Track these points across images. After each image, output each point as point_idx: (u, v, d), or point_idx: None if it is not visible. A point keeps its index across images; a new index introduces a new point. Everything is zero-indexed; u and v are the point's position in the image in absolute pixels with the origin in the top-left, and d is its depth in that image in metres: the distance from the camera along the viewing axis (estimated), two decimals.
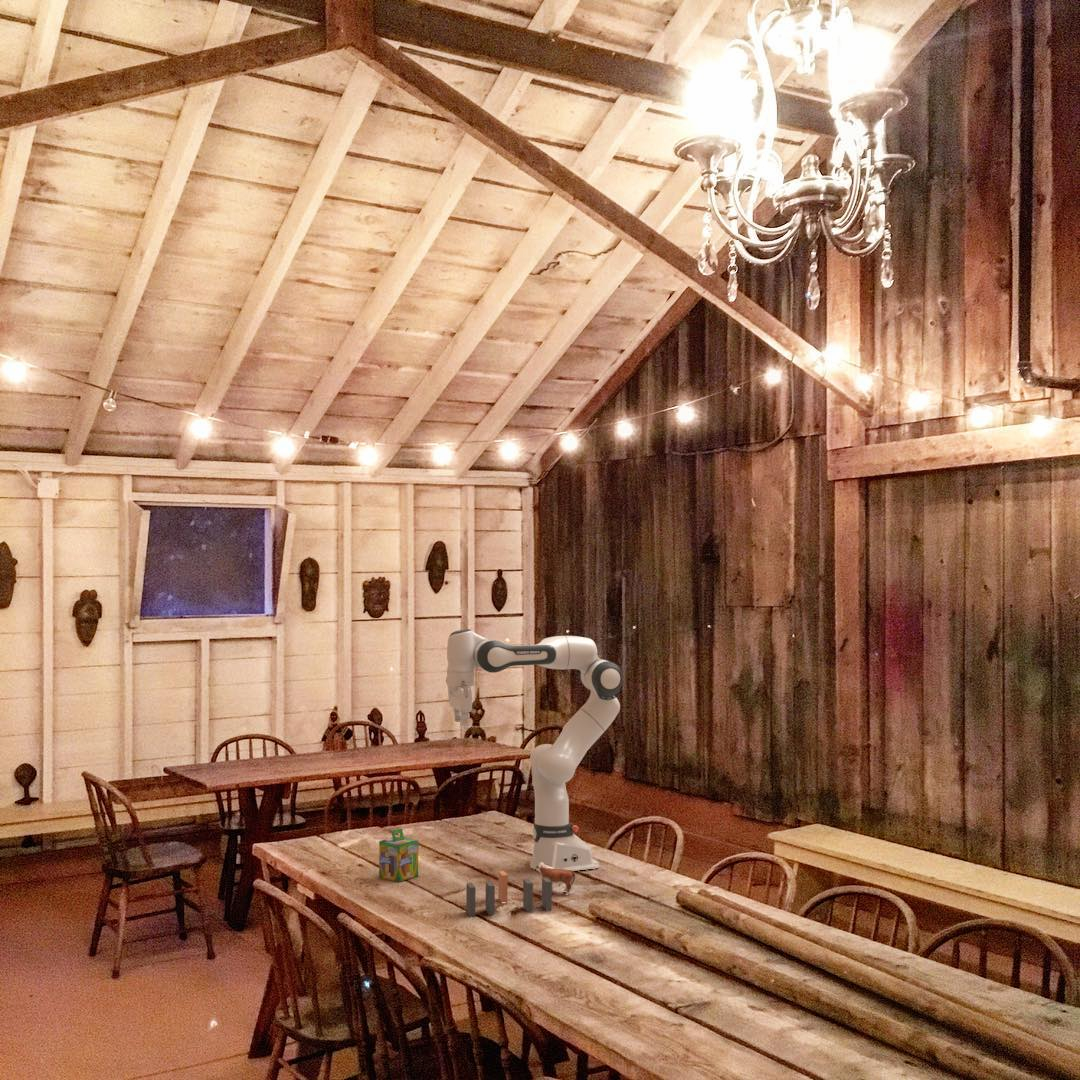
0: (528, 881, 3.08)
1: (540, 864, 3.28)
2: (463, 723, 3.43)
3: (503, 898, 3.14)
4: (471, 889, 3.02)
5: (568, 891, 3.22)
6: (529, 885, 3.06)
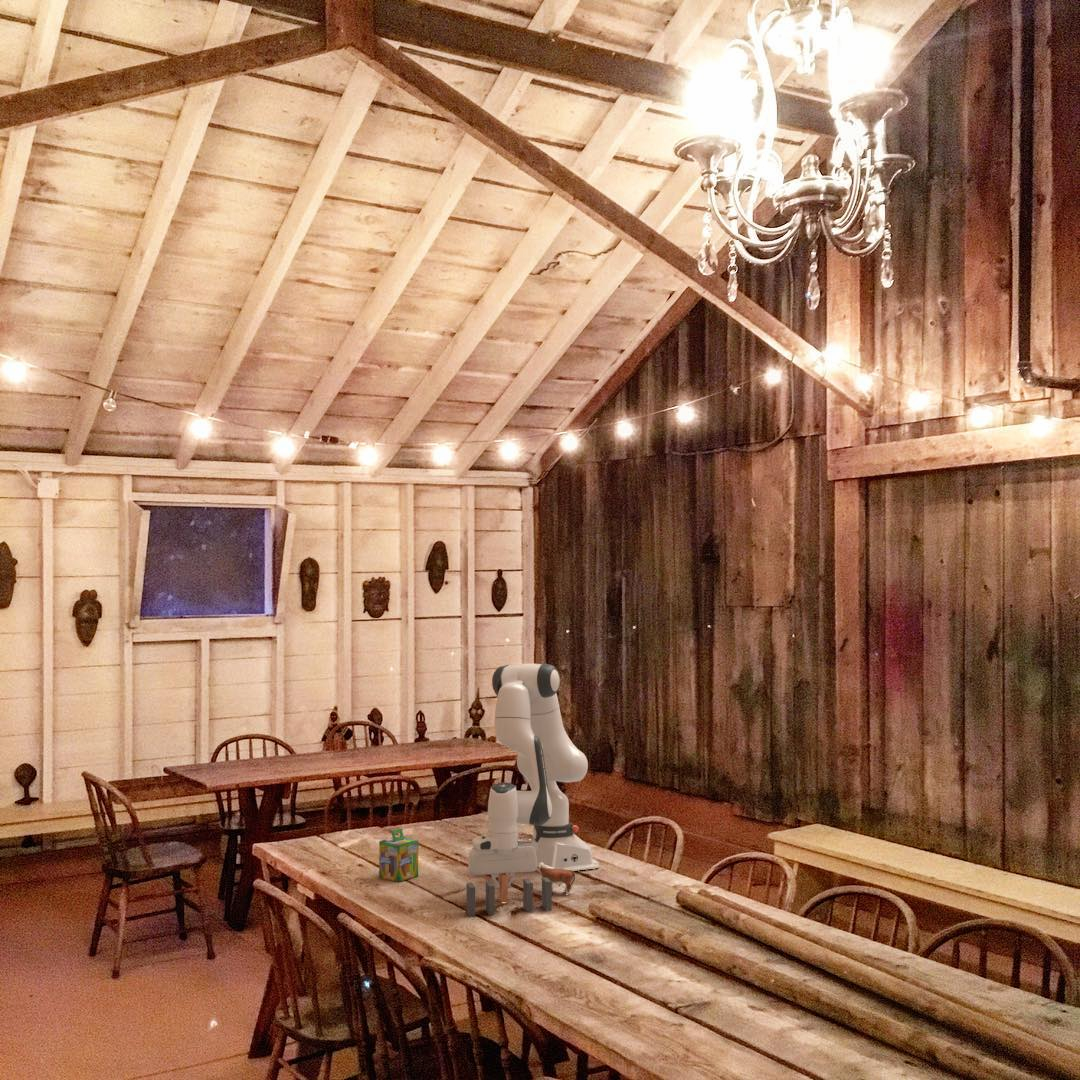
0: (528, 881, 3.08)
1: (540, 864, 3.28)
2: None
3: (503, 898, 3.14)
4: (471, 889, 3.02)
5: (568, 891, 3.22)
6: (529, 885, 3.06)
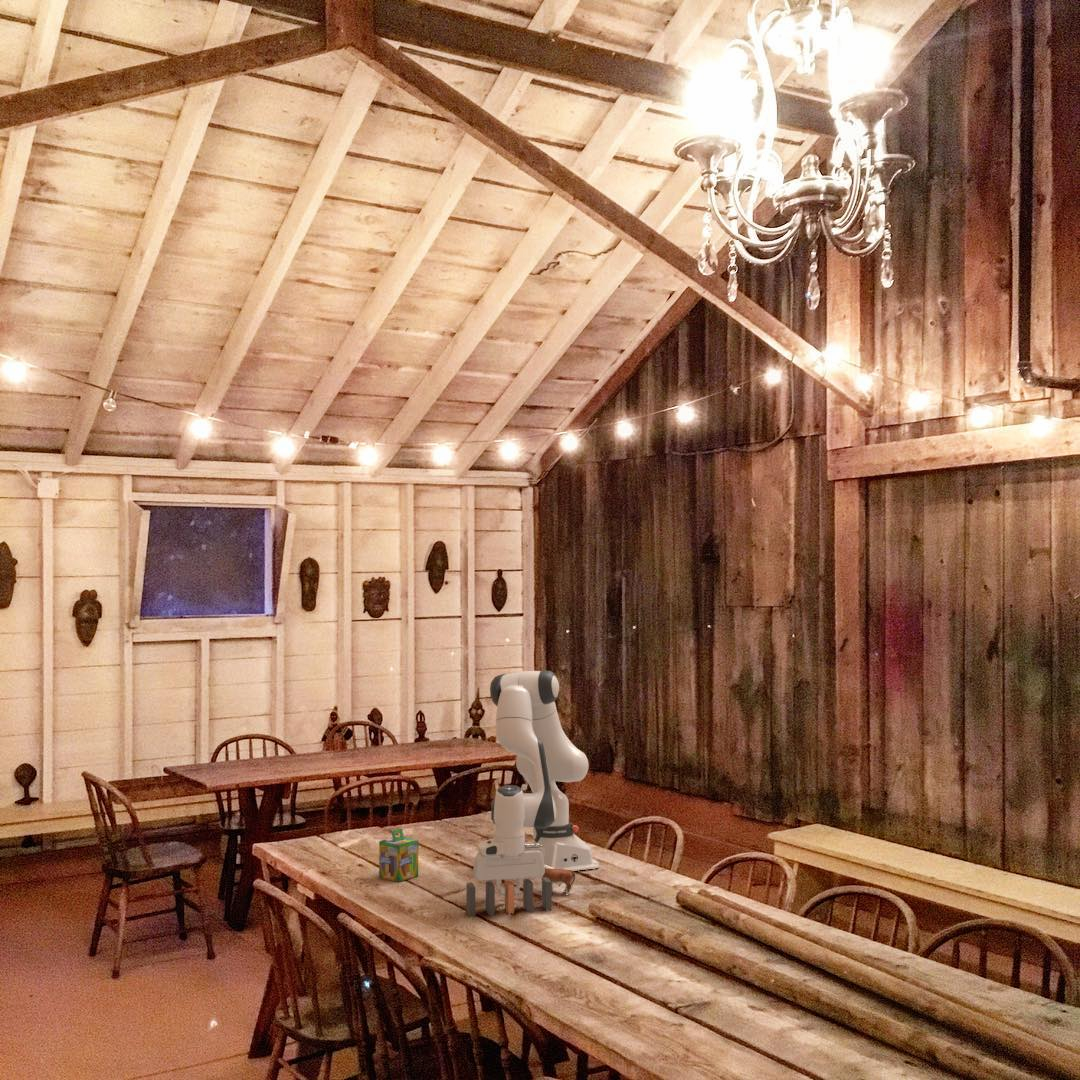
0: (528, 881, 3.08)
1: None
2: None
3: (509, 908, 3.04)
4: (471, 889, 3.02)
5: (568, 891, 3.22)
6: (529, 885, 3.06)
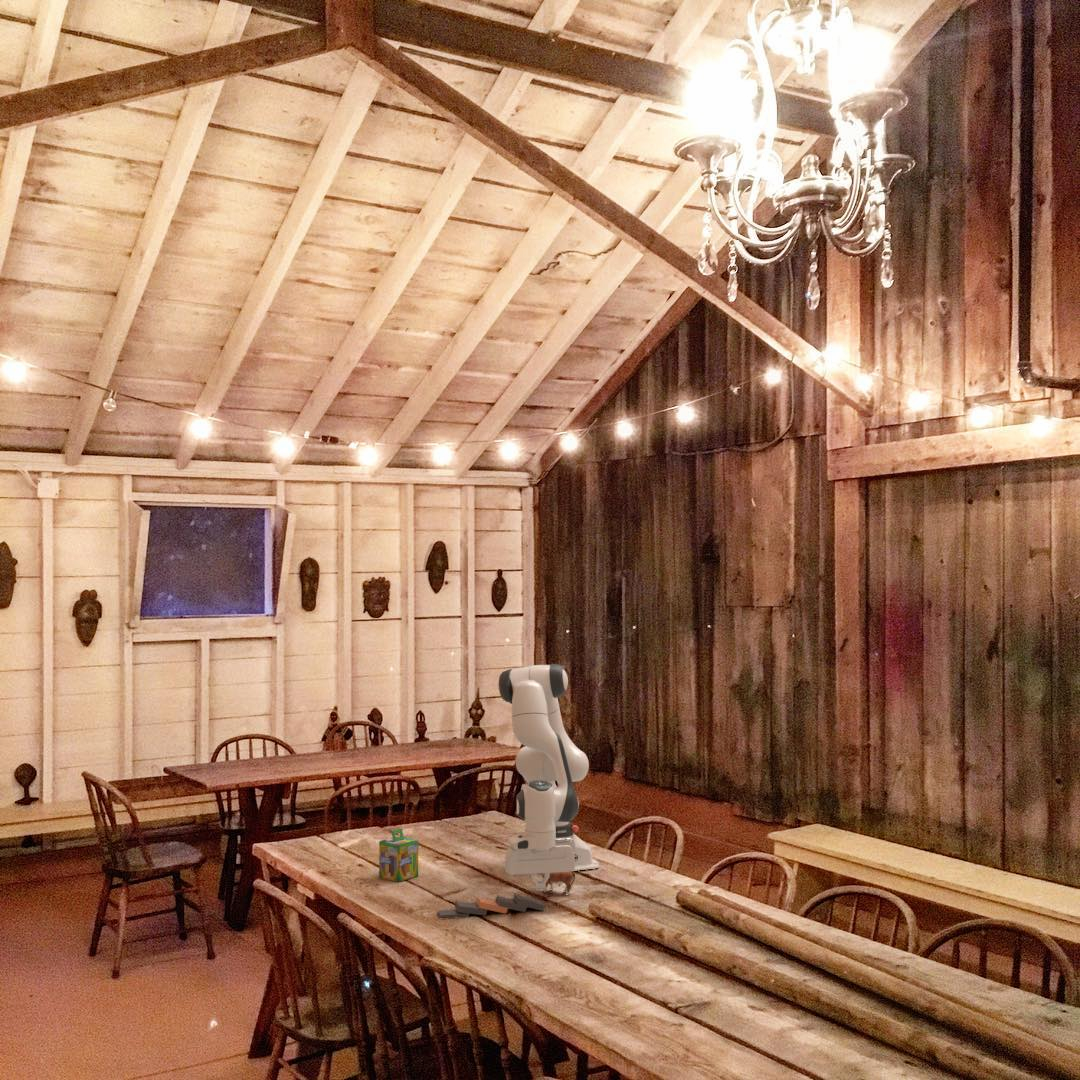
0: (498, 901, 3.05)
1: None
2: None
3: (502, 911, 3.04)
4: None
5: (568, 891, 3.22)
6: (501, 904, 3.04)
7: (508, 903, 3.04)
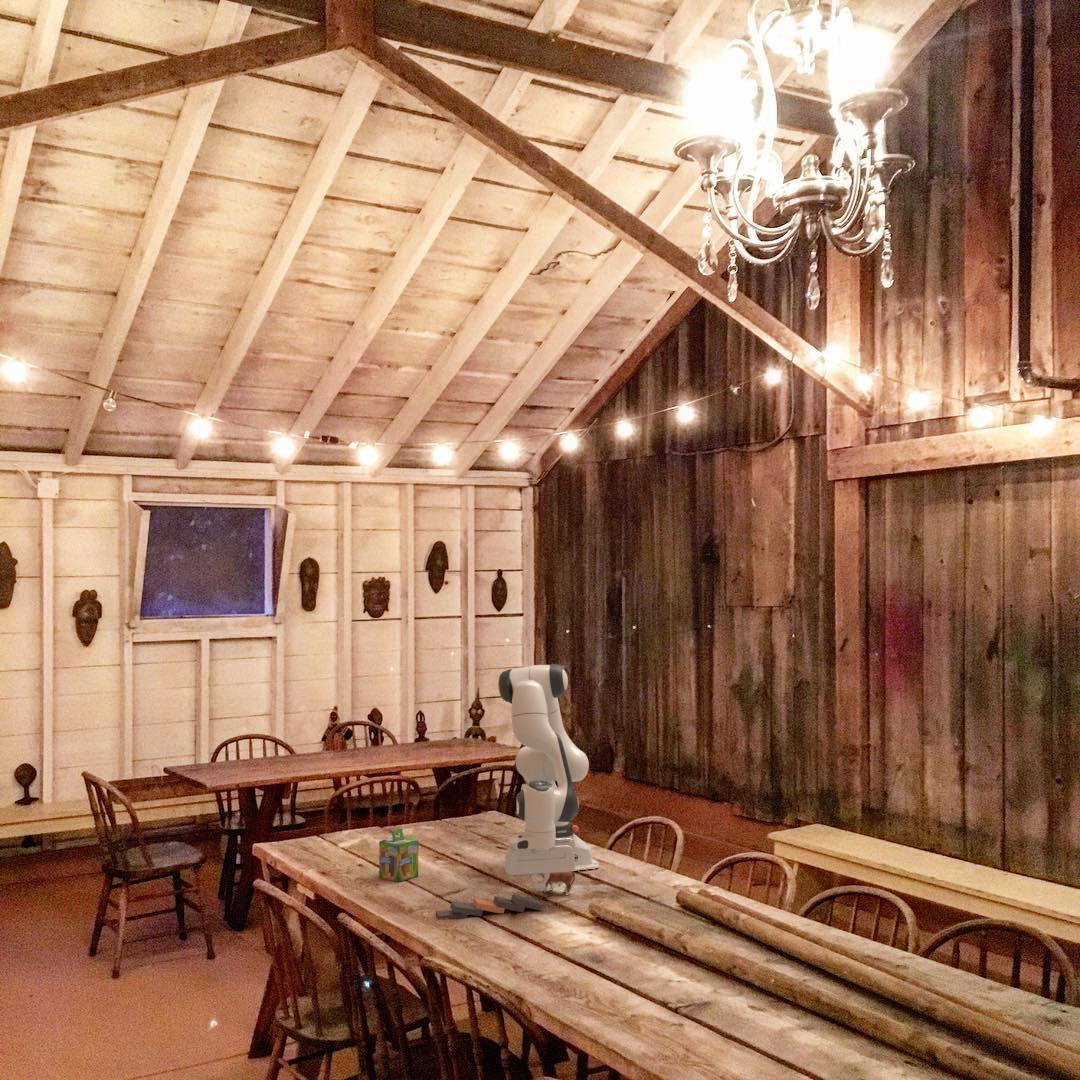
0: (496, 901, 3.05)
1: None
2: None
3: (499, 911, 3.03)
4: None
5: (568, 891, 3.22)
6: (499, 904, 3.04)
7: (506, 903, 3.04)
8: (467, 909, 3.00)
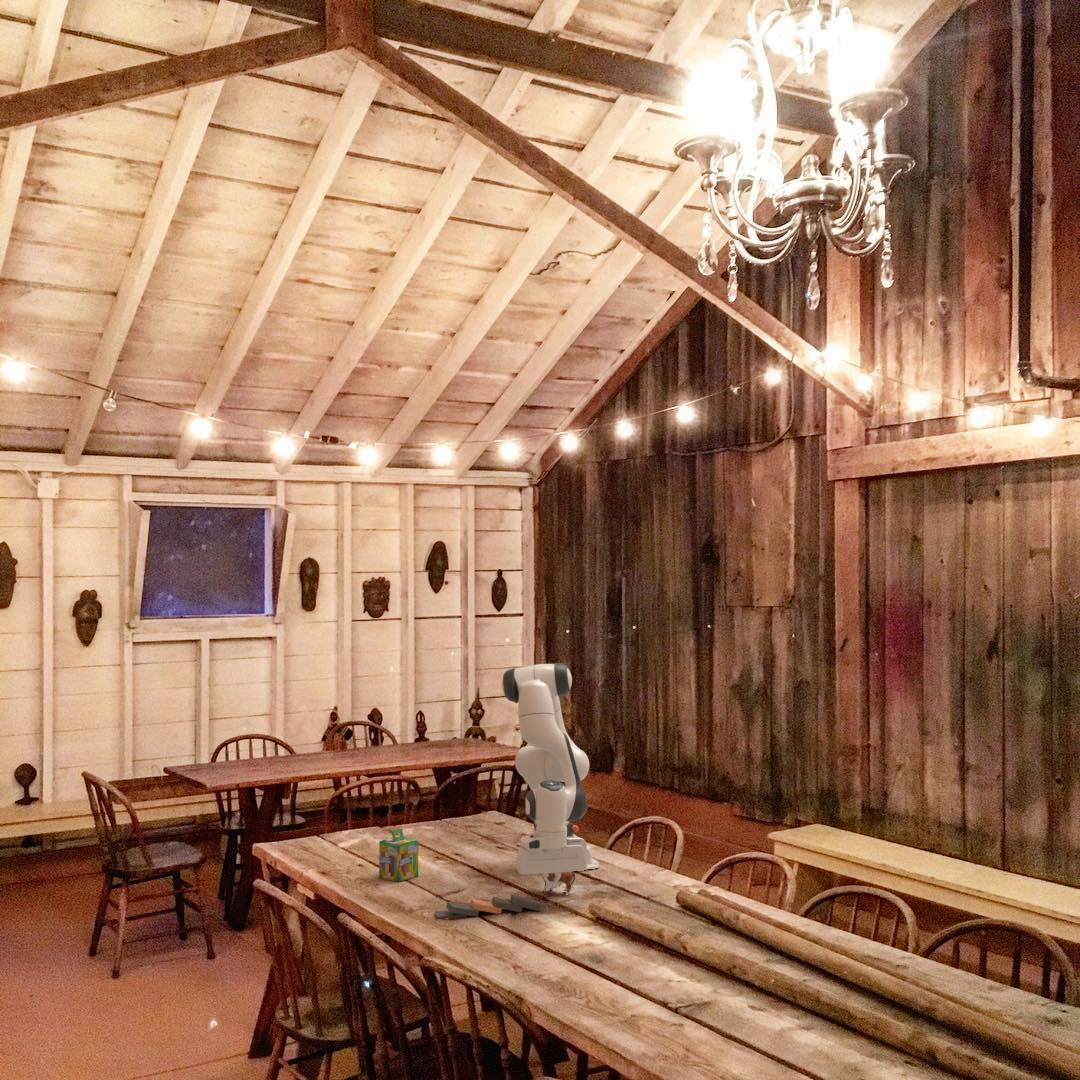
0: (493, 902, 3.05)
1: None
2: None
3: (496, 911, 3.03)
4: None
5: (568, 891, 3.22)
6: (496, 905, 3.04)
7: (504, 904, 3.04)
8: (464, 909, 2.99)
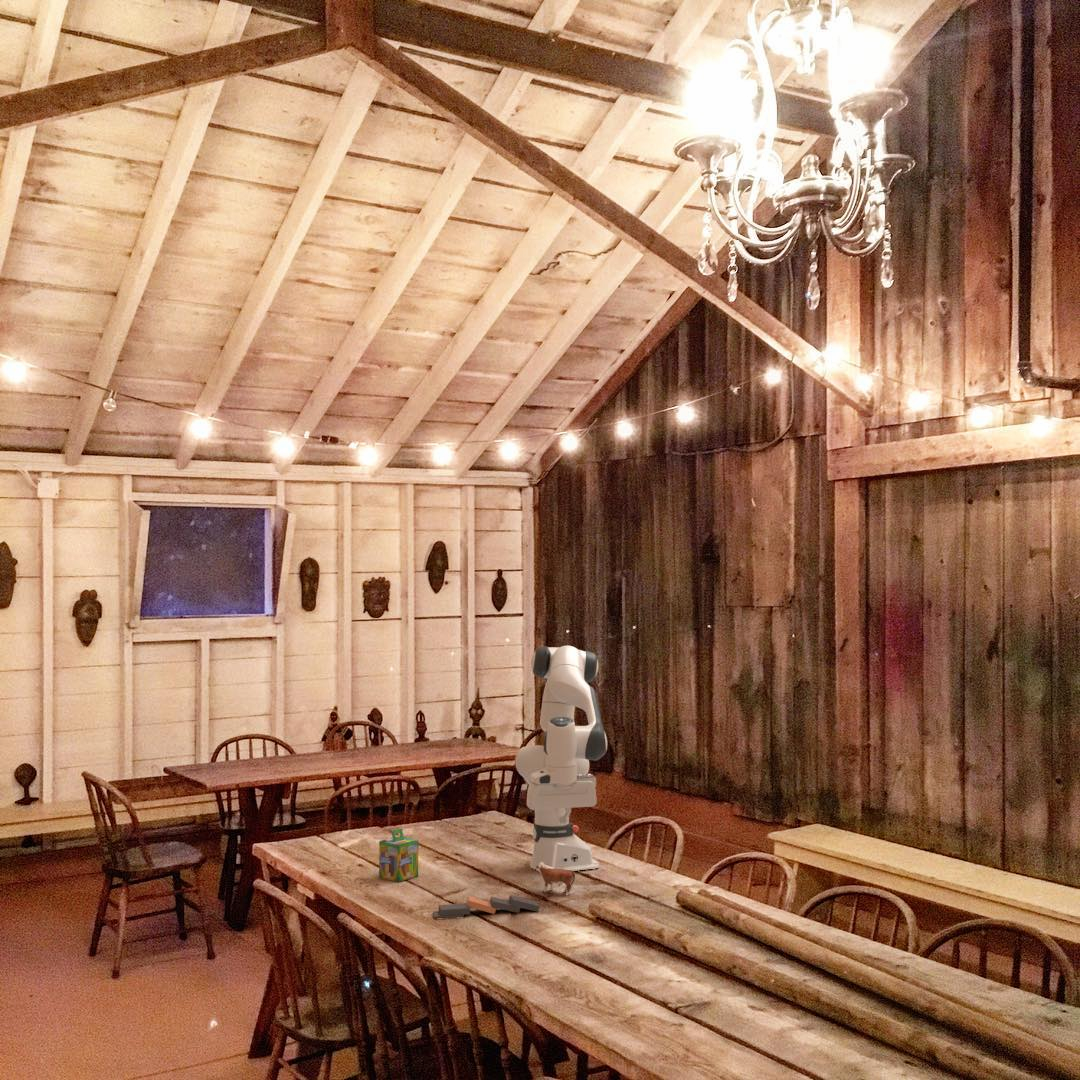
0: (491, 902, 3.05)
1: (540, 864, 3.28)
2: None
3: (490, 911, 3.03)
4: None
5: (568, 891, 3.22)
6: (494, 905, 3.04)
7: (501, 904, 3.04)
8: (454, 910, 3.00)
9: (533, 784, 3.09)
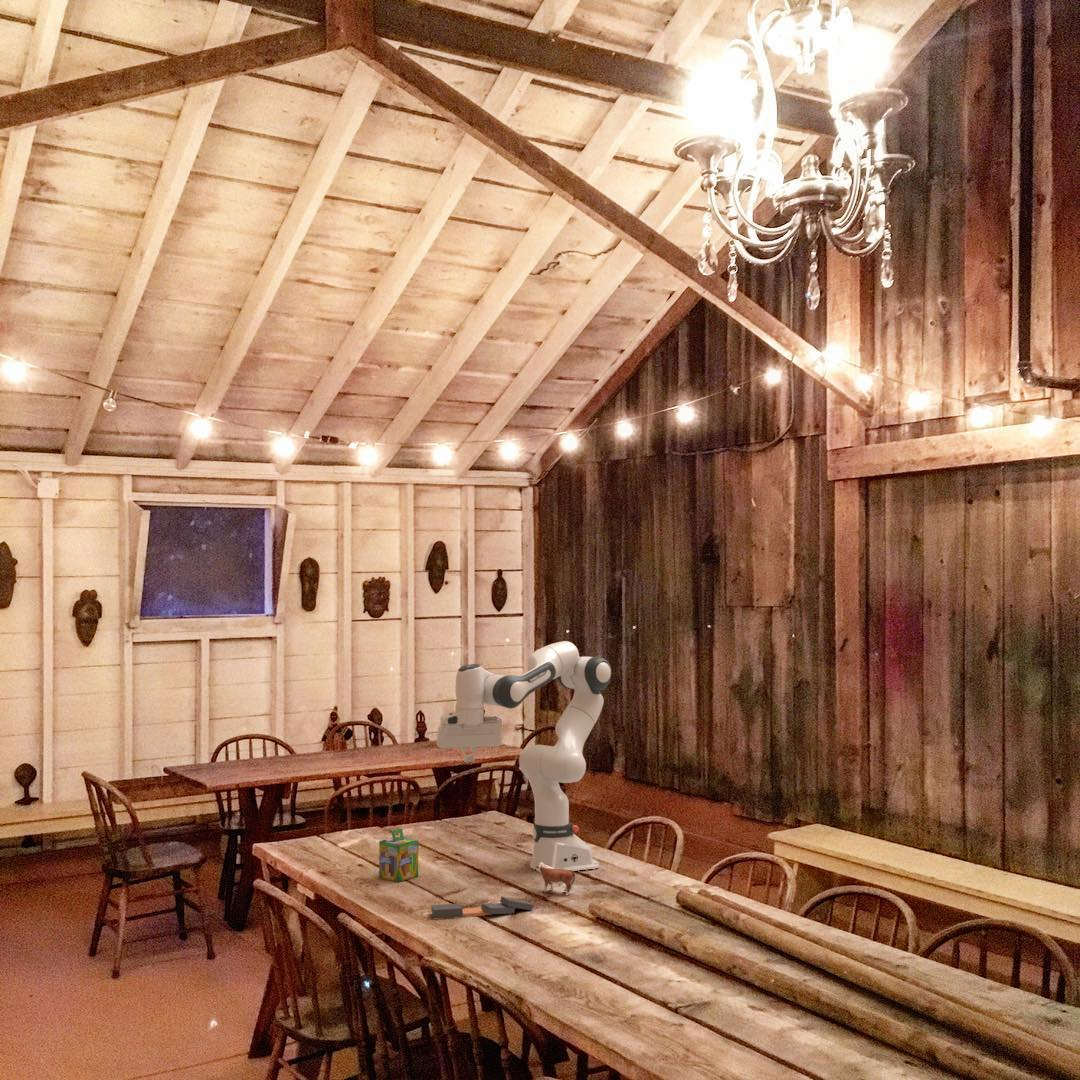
0: (486, 909, 3.01)
1: (540, 864, 3.28)
2: None
3: None
4: None
5: (568, 891, 3.22)
6: (492, 911, 3.00)
7: (498, 909, 3.01)
8: (446, 910, 3.00)
9: (442, 725, 3.34)
